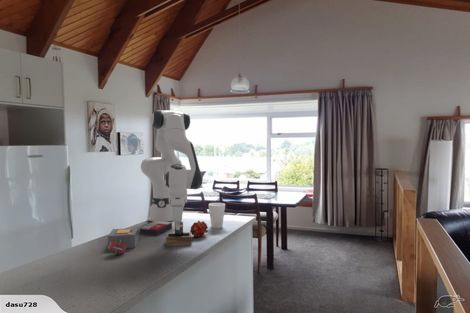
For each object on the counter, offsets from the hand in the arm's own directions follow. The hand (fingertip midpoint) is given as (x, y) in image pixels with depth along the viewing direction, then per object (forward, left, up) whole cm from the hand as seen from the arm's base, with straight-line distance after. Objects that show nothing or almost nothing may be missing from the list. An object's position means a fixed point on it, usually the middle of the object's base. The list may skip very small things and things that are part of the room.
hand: (178, 226), depth 166 cm
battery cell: (0, 0, -7) cm, 7 cm away
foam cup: (-28, +21, -8) cm, 36 cm away
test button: (-2, -26, -4) cm, 26 cm away
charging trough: (0, 0, -8) cm, 8 cm away
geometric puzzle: (+12, -26, -8) cm, 30 cm away
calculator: (-24, -12, -9) cm, 28 cm away
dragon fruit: (-10, +10, -8) cm, 16 cm away
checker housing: (-2, -26, -8) cm, 27 cm away
